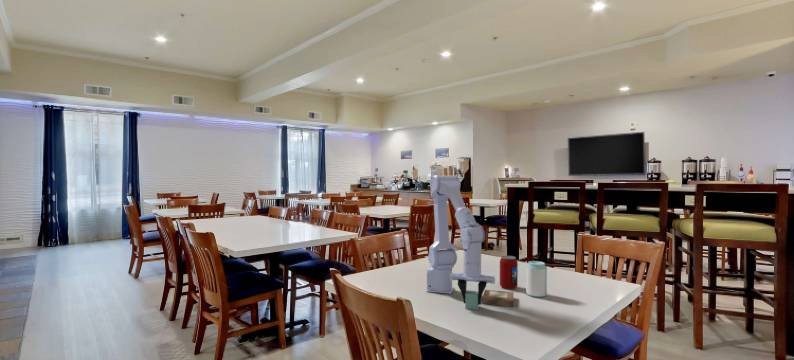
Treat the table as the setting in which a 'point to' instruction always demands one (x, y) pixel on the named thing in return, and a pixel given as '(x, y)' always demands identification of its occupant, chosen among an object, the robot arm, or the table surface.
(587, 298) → the table surface
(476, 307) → the teal block
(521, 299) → the table surface
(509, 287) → the beverage can
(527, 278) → the can
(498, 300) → the walnut base
